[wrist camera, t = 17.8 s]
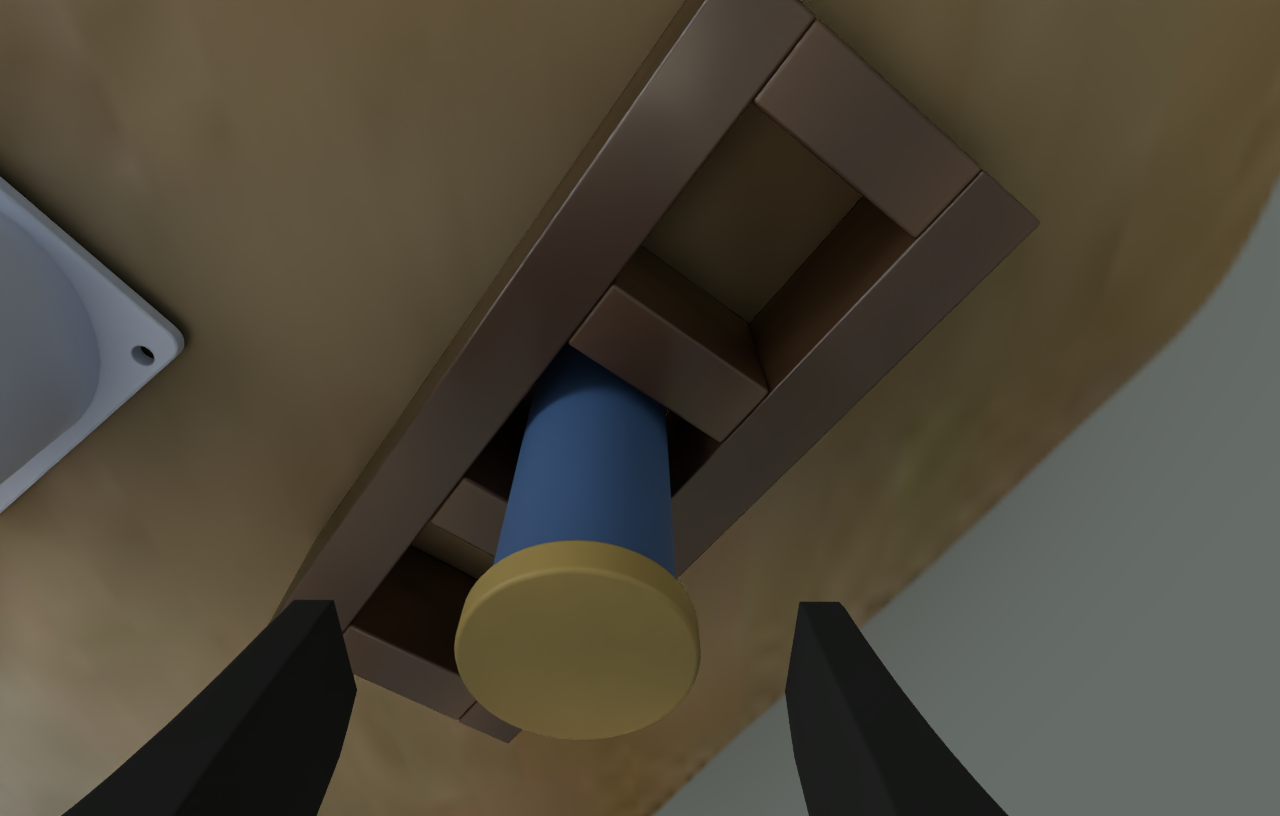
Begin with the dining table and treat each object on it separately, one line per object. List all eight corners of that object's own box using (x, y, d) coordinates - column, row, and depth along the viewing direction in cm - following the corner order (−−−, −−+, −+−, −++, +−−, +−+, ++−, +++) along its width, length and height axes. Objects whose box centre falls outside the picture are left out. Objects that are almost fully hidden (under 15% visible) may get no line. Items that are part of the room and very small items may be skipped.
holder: (313, 543, 22) (262, 634, 19) (719, -51, 15) (741, -54, 12) (523, 647, 24) (508, 744, 21) (970, 176, 17) (1042, 223, 14)
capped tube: (590, 469, 21) (563, 770, 13) (495, 371, 19) (401, 646, 12) (704, 395, 20) (748, 678, 12) (613, 285, 18) (595, 527, 10)
